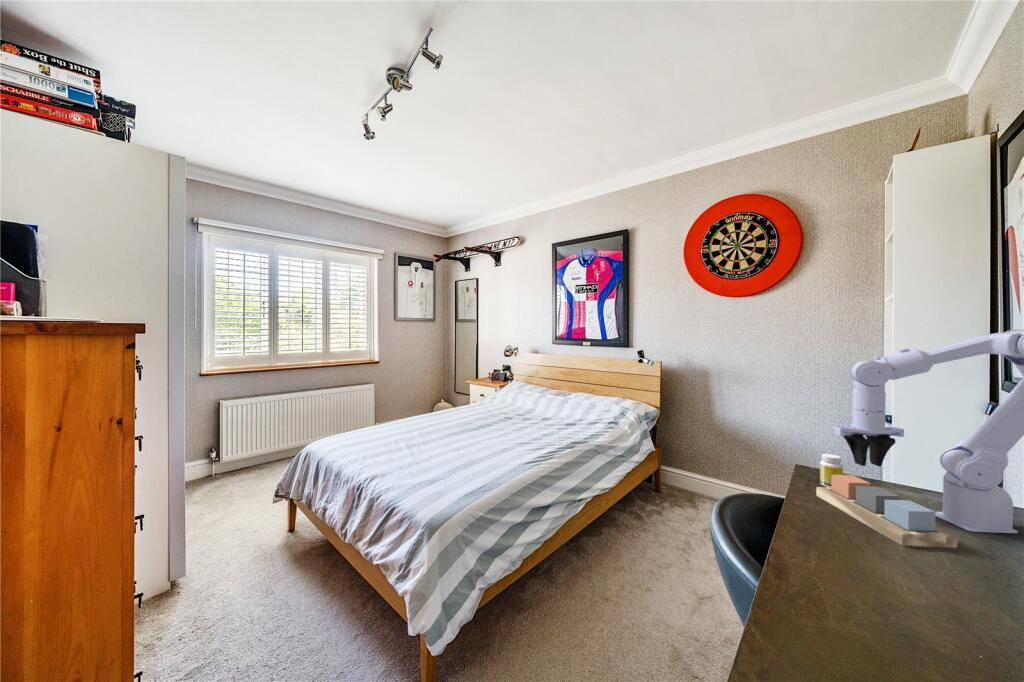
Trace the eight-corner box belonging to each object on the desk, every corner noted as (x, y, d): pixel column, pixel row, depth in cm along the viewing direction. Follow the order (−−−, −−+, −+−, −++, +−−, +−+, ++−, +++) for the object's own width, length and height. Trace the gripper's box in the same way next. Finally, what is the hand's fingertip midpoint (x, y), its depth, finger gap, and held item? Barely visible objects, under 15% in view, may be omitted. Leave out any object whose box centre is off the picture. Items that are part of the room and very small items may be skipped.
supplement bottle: (847, 489, 97) (848, 458, 97) (829, 489, 97) (830, 458, 97) (832, 482, 102) (832, 453, 102) (815, 482, 102) (815, 453, 102)
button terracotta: (852, 490, 91) (852, 475, 91) (870, 499, 86) (870, 483, 86) (831, 490, 91) (831, 474, 91) (848, 499, 86) (848, 482, 86)
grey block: (878, 503, 84) (878, 486, 84) (899, 514, 79) (900, 496, 79) (855, 502, 84) (855, 486, 84) (875, 513, 79) (875, 495, 79)
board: (857, 497, 92) (857, 488, 92) (957, 547, 70) (957, 535, 70) (816, 496, 93) (816, 487, 93) (902, 545, 71) (902, 533, 71)
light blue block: (909, 518, 77) (909, 500, 77) (934, 531, 72) (935, 511, 72) (884, 518, 77) (884, 499, 77) (908, 530, 72) (908, 511, 72)
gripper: (884, 406, 91) (883, 459, 92) (824, 406, 93) (823, 458, 93) (913, 412, 84) (912, 470, 85) (848, 412, 85) (847, 468, 86)
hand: (868, 464), depth 88 cm, fingers open, 3 cm apart
